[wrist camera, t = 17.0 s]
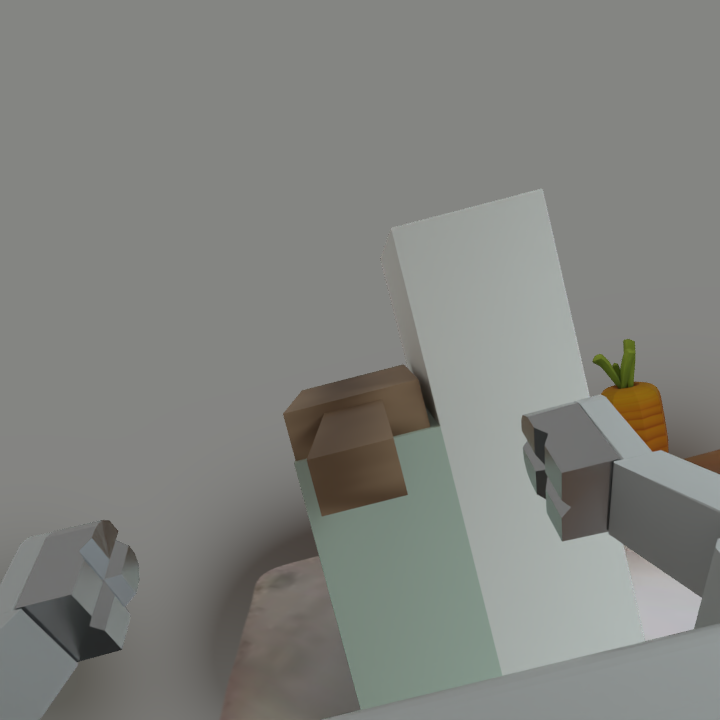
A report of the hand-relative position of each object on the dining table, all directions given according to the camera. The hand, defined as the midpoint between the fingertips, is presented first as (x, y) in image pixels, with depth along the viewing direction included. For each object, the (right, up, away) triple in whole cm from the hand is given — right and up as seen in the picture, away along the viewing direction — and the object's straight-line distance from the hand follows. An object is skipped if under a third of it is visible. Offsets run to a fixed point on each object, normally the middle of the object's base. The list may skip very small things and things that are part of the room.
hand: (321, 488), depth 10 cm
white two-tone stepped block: (+9, -16, +24) cm, 30 cm away
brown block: (+1, -2, +17) cm, 17 cm away
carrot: (+26, -11, +35) cm, 45 cm away
